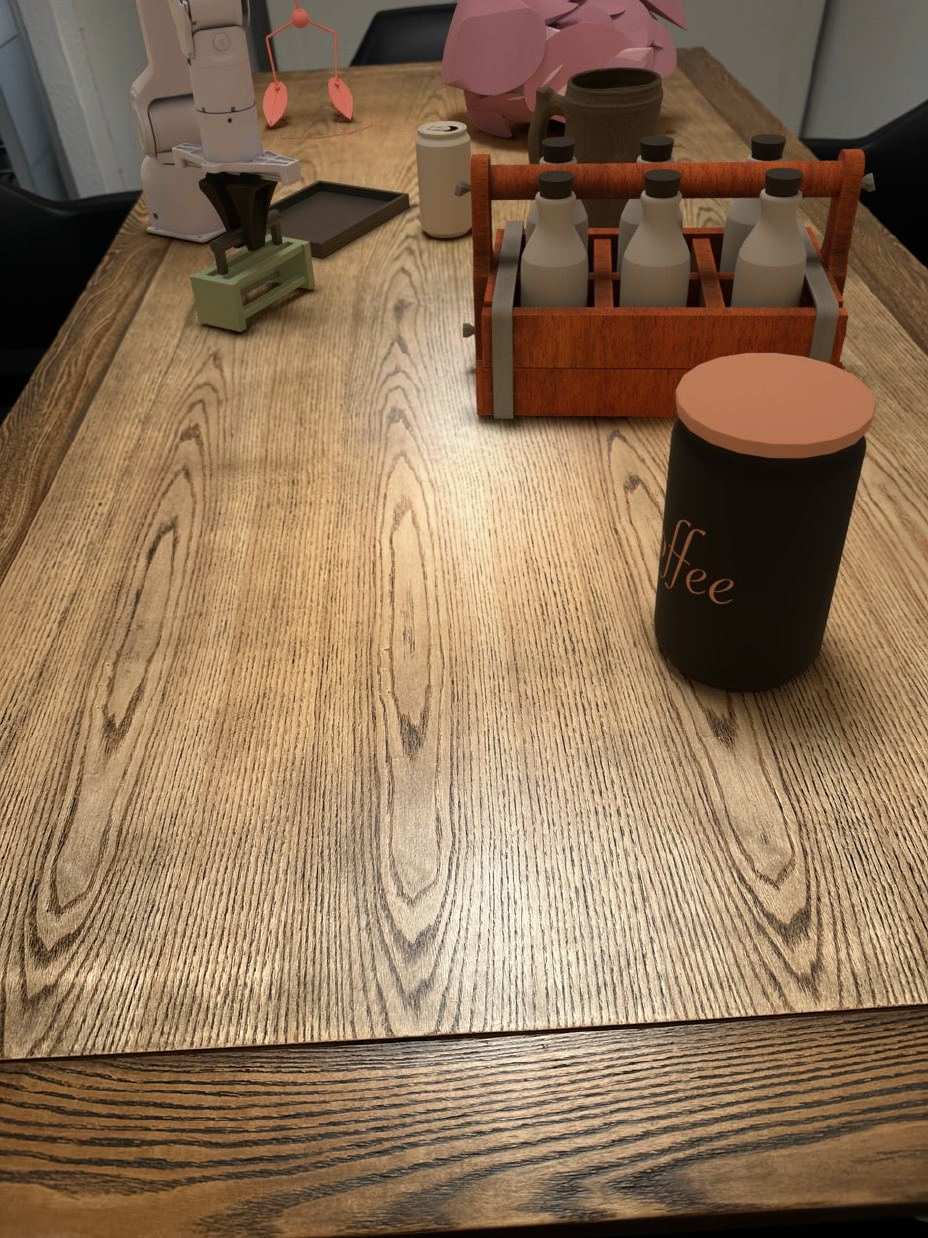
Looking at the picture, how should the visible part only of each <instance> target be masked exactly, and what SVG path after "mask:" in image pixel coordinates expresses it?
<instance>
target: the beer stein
mask: <svg viewBox="0 0 928 1238" xmlns="http://www.w3.org/2000/svg"><path fill="white" fill-rule="evenodd" d="M662 79H663V78H661V76H660V75H659V74H658V73H656V72H654V71H651V70H647V69H642V68H627V67H616V68H601V69H593V70H588V71H583V72H580V73H577V74H574V75H573V76H571V77H570V78H569V80H568V82H567V88H566V92H565V96H562V95H559V94H557V93H555V91H554V90H553V89H552V87H549V86H547V87H538V88H536V103H535V109H534V113H533V116H532V120H531V123H529V124H530V125H529V129H528V134H527V155H528V164H539V162H540V159H541V158H542V157H543V150H542V141H543V140H544V139H547V137H548V126H549V123H550V121H551V120H552V119H551V117H553V116H554V115H558V116H562V117H564V118H565V123H564V136H563V137H567V138H572V139H574V140H575V148H574V154H573V156H574V157H575V158H576V160H577V164H607V163H636V162H637V159H638V157H639V156H640V155H641V149H640V140H641V139H642V138H644V137H647V136H660V135H659V126H660V118H661V111H662V103H663V100H664V94H665V93H664V88H663V80H662ZM550 119H551V120H550ZM628 201H629V199H583V200H581V202H582V204H583V206H584V208H585V211H586V213H587V216H588V228H619V224H620V219H621V215H622V213H623V211H624V208H625V206H626V204H627V203H628Z"/></svg>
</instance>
